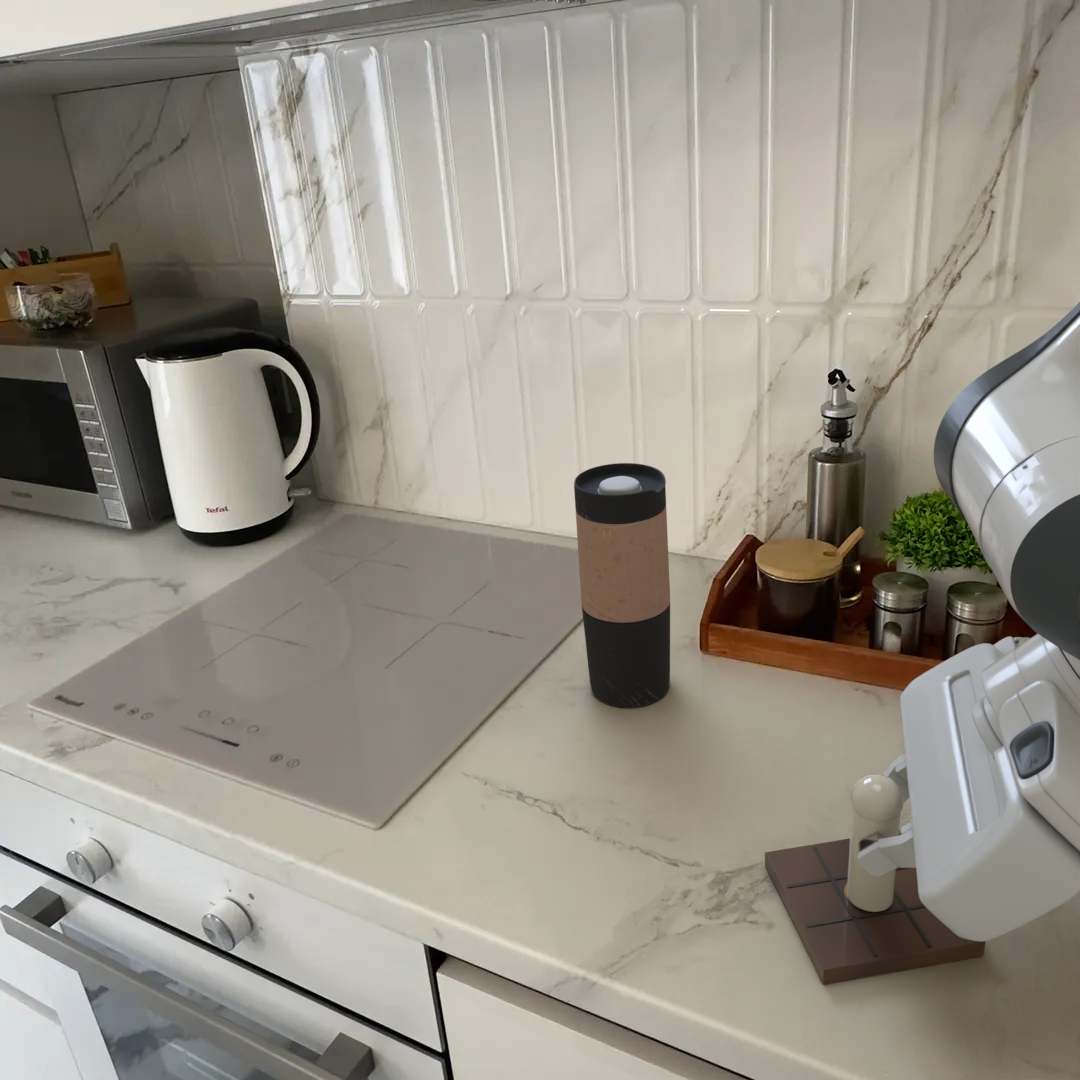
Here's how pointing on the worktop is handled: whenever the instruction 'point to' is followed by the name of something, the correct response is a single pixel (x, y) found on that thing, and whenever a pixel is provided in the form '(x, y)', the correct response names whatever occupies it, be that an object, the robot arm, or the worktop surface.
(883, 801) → the white round-top peg
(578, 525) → the travel mug
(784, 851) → the board
